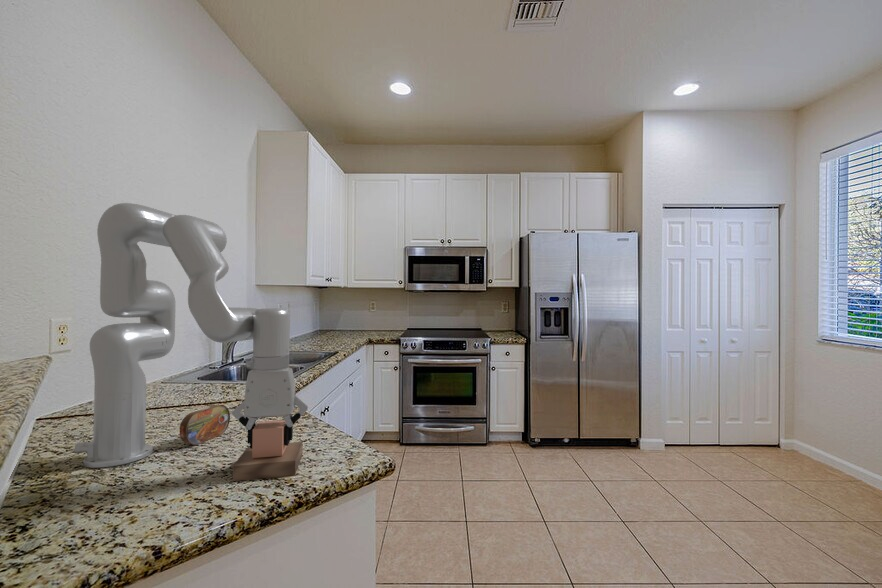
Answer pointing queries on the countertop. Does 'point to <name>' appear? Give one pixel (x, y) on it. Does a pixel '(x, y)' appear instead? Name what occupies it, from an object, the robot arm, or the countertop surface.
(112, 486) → the countertop surface
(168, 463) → the countertop surface
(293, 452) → the base
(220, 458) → the countertop surface
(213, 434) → the tin
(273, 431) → the cube
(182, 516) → the countertop surface
